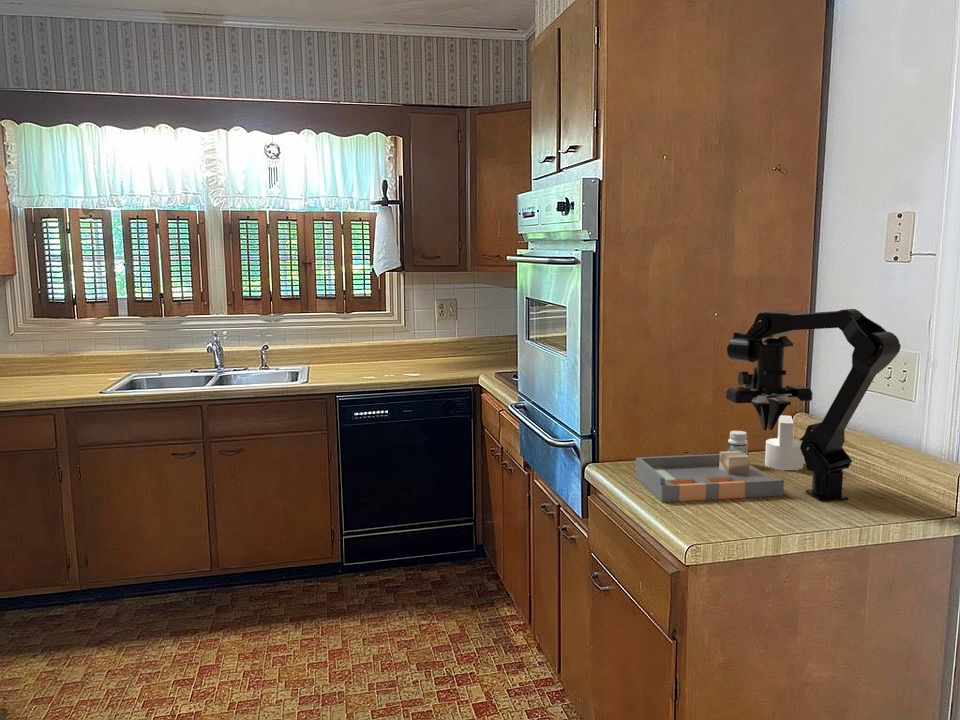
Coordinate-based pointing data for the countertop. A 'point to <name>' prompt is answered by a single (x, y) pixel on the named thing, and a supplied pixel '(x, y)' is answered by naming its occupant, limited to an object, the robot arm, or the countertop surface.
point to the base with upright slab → (784, 448)
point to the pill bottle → (738, 441)
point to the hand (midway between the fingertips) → (767, 429)
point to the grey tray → (701, 479)
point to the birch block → (734, 462)
